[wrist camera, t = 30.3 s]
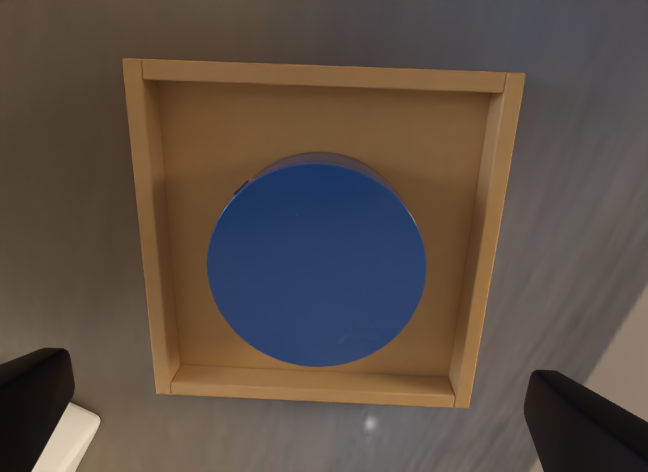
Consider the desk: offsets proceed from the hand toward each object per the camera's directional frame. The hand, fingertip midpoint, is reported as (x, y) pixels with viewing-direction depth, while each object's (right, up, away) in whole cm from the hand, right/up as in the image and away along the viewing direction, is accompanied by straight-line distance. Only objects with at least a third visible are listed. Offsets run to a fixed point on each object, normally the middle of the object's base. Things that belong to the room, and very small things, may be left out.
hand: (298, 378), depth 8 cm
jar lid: (0, +2, +5) cm, 6 cm away
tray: (0, +3, +8) cm, 8 cm away
